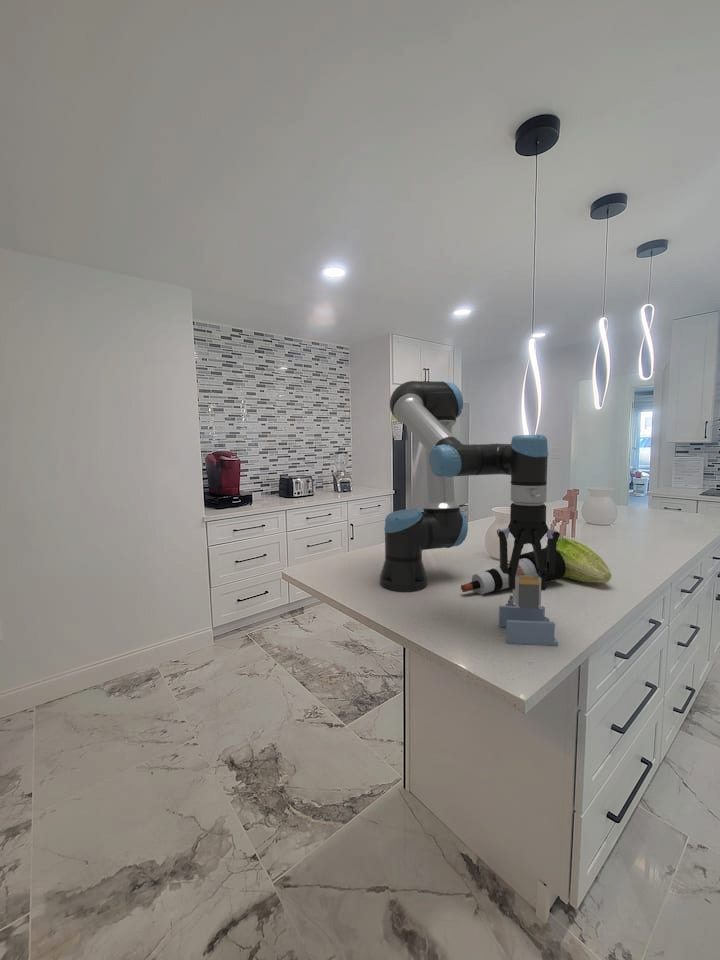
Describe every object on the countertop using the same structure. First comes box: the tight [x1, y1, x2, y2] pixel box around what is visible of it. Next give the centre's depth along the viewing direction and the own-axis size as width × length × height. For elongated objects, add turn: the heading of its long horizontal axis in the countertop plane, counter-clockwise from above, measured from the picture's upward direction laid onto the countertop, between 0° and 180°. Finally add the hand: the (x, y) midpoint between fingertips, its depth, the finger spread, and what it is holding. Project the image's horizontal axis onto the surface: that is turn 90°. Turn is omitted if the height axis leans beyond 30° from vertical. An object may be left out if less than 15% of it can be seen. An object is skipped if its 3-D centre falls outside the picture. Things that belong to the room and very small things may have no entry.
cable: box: [460, 547, 566, 595], centre depth 124 cm, size 10×34×10 cm, turn 110°
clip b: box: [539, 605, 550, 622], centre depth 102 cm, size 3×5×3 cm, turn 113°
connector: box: [518, 575, 539, 609], centre depth 93 cm, size 4×4×6 cm
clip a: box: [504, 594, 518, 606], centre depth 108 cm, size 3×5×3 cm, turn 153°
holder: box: [498, 605, 559, 646], centre depth 94 cm, size 11×9×5 cm
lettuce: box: [544, 537, 612, 583], centre depth 131 cm, size 13×22×14 cm
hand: (526, 602), depth 94 cm, fingers closed on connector, 4 cm apart
